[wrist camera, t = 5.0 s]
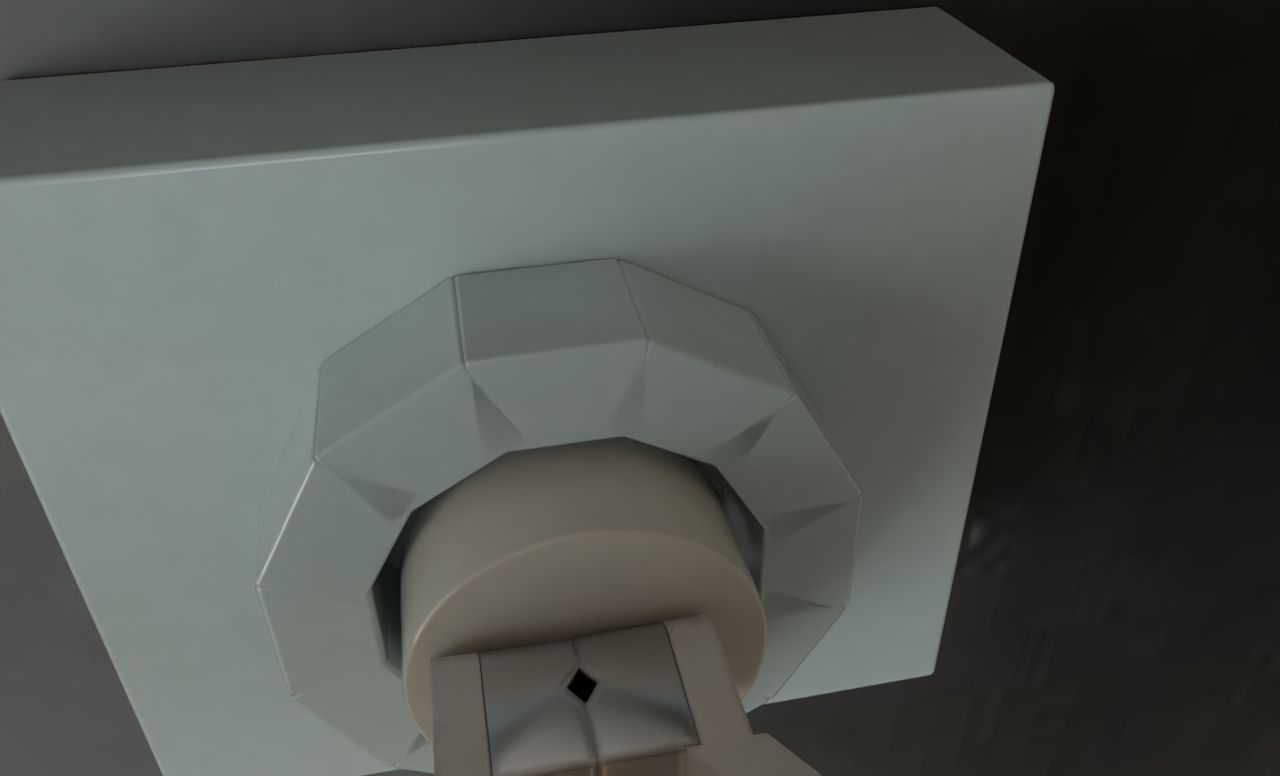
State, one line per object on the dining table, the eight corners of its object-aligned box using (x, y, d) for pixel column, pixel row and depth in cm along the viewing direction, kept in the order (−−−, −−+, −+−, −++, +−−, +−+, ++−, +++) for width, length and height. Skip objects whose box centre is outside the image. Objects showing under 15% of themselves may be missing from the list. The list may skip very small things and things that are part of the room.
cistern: (940, 4, 15) (1152, 143, 11) (865, 545, 20) (985, 769, 16) (-8, 78, 13) (-184, 281, 9) (204, 649, 19) (156, 928, 15)
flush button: (732, 405, 12) (778, 504, 11) (723, 645, 15) (760, 752, 13) (374, 452, 12) (373, 565, 10) (424, 695, 14) (429, 814, 13)
